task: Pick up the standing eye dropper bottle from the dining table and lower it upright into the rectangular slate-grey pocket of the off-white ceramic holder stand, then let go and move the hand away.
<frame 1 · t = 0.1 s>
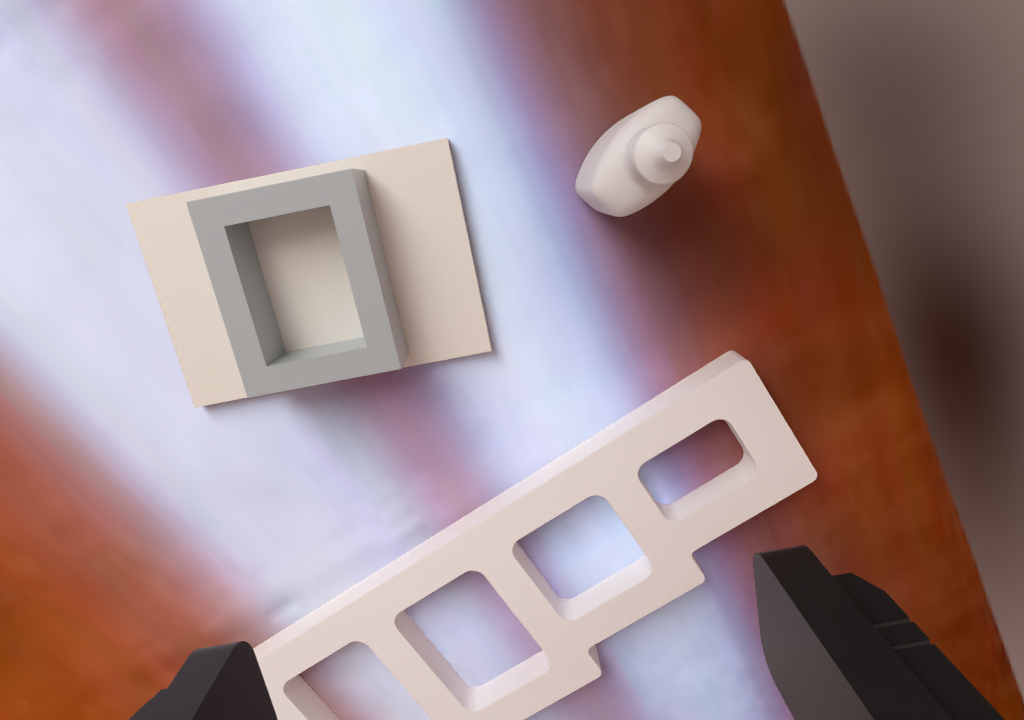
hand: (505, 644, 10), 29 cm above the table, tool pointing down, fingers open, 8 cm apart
holder: (507, 629, 45), on the table
eye dropper bottle: (618, 162, 36), on the table
holder stand: (318, 277, 38), on the table
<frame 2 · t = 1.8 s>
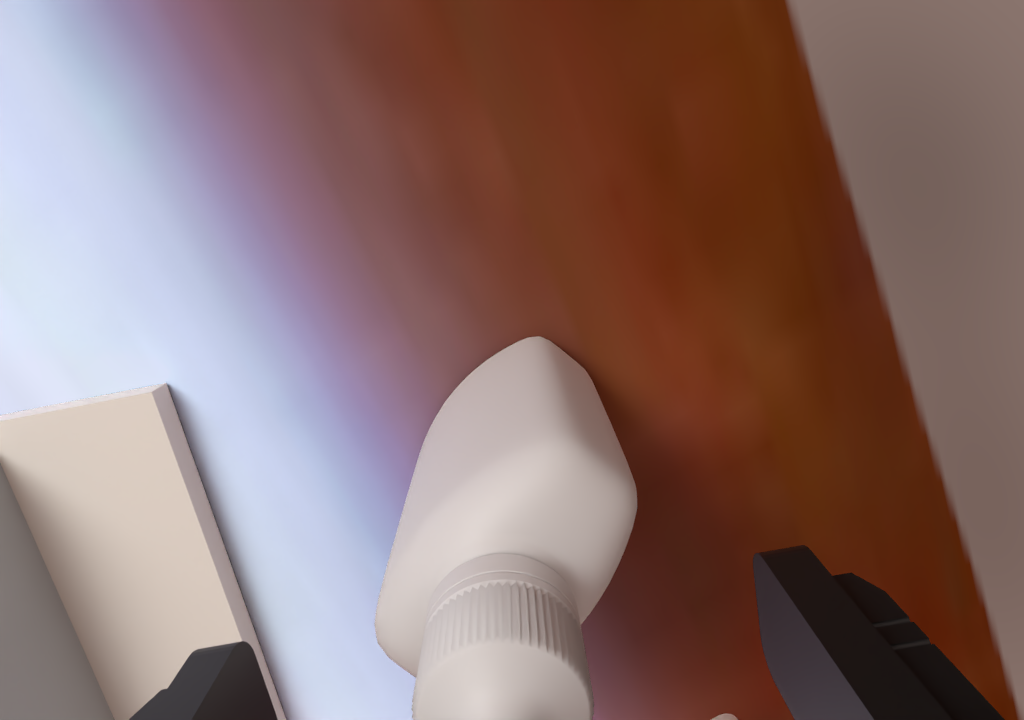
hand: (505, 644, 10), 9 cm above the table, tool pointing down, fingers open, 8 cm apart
eye dropper bottle: (502, 419, 19), on the table
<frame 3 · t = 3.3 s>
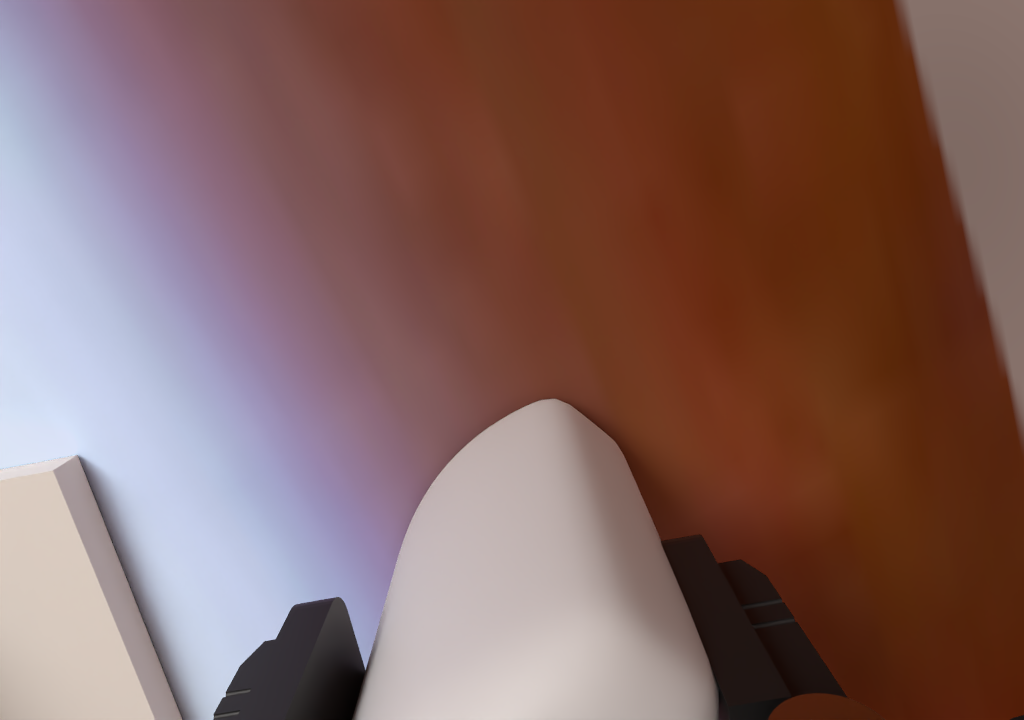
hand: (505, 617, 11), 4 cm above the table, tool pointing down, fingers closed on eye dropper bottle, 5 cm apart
eye dropper bottle: (507, 500, 15), on the table, touching gripper
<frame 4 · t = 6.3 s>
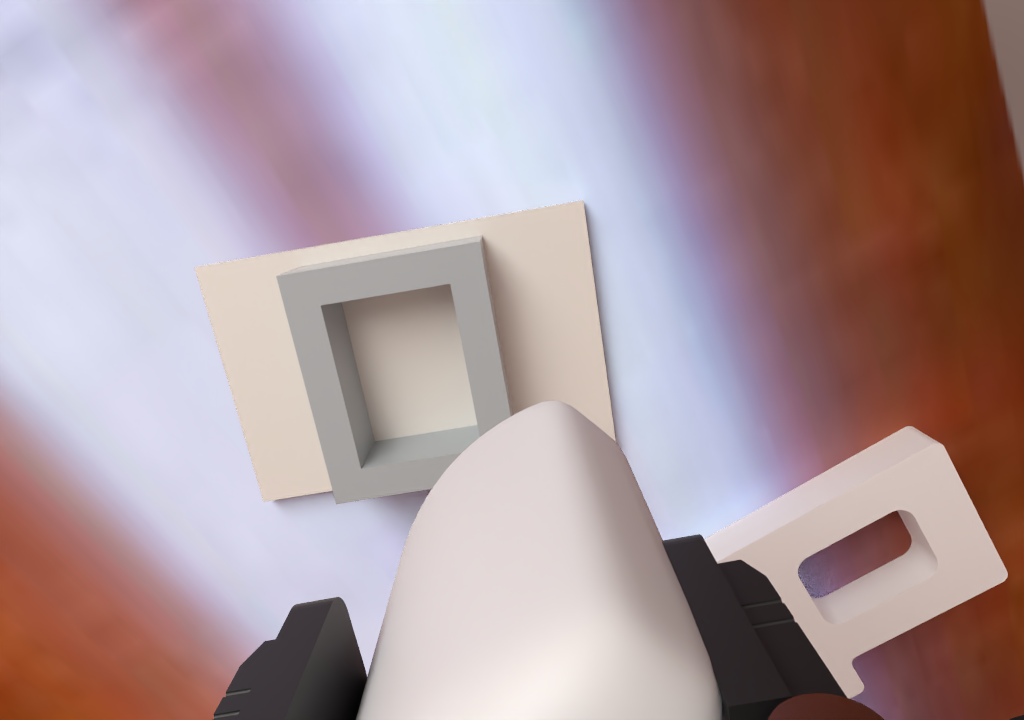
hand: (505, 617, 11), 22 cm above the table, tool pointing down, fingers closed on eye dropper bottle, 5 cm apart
eye dropper bottle: (509, 501, 15), point 17 cm above the table, touching gripper
holder stand: (416, 355, 32), on the table
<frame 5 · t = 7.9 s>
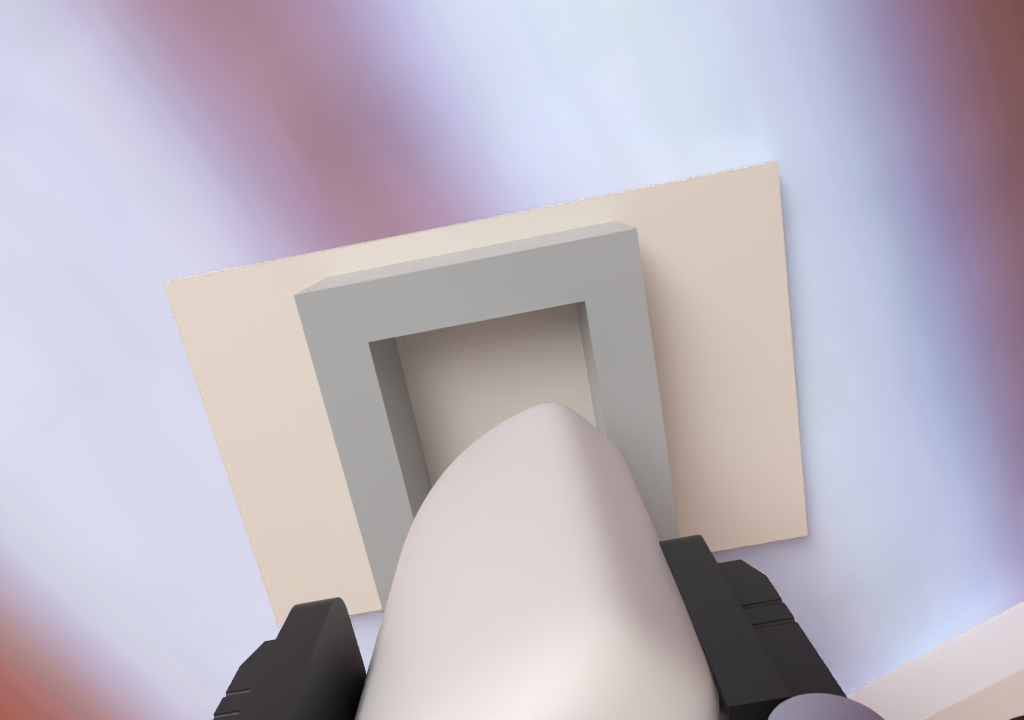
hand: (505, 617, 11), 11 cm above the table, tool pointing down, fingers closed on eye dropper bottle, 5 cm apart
eye dropper bottle: (508, 503, 15), point 6 cm above the table, touching gripper
holder stand: (504, 408, 21), on the table
when the fingers open (5 cm above the table, at t = 9.5 s): eye dropper bottle stays where it is, resting on holder stand.
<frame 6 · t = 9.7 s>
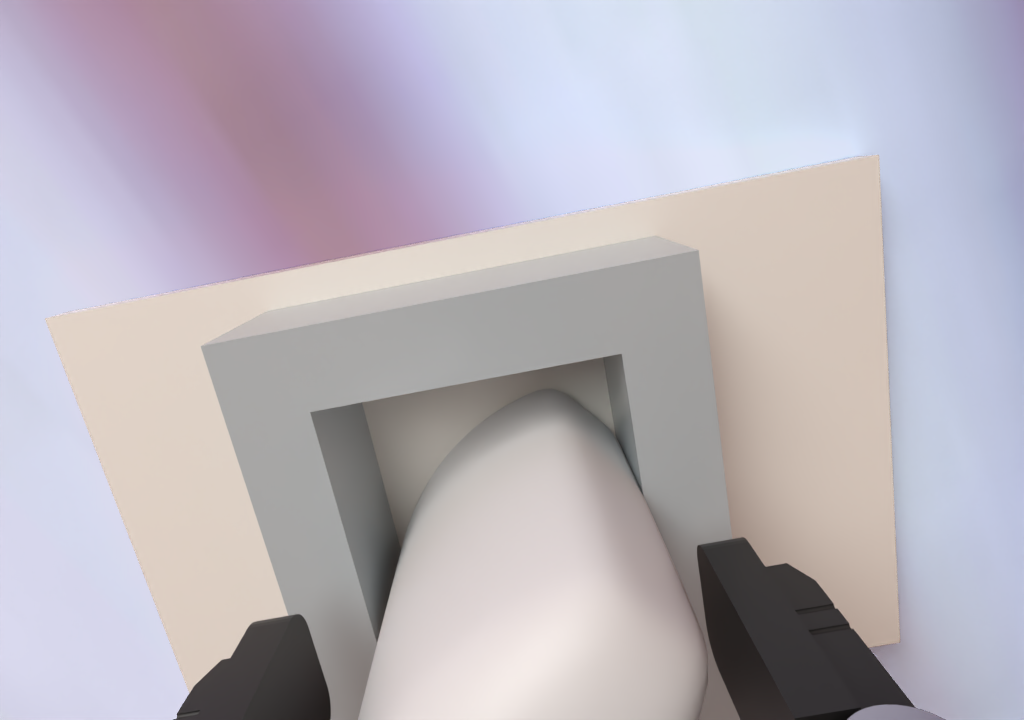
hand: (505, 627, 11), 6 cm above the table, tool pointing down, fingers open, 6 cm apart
eye dropper bottle: (507, 487, 15), point 1 cm above the table, touching holder stand
holder stand: (505, 478, 16), on the table
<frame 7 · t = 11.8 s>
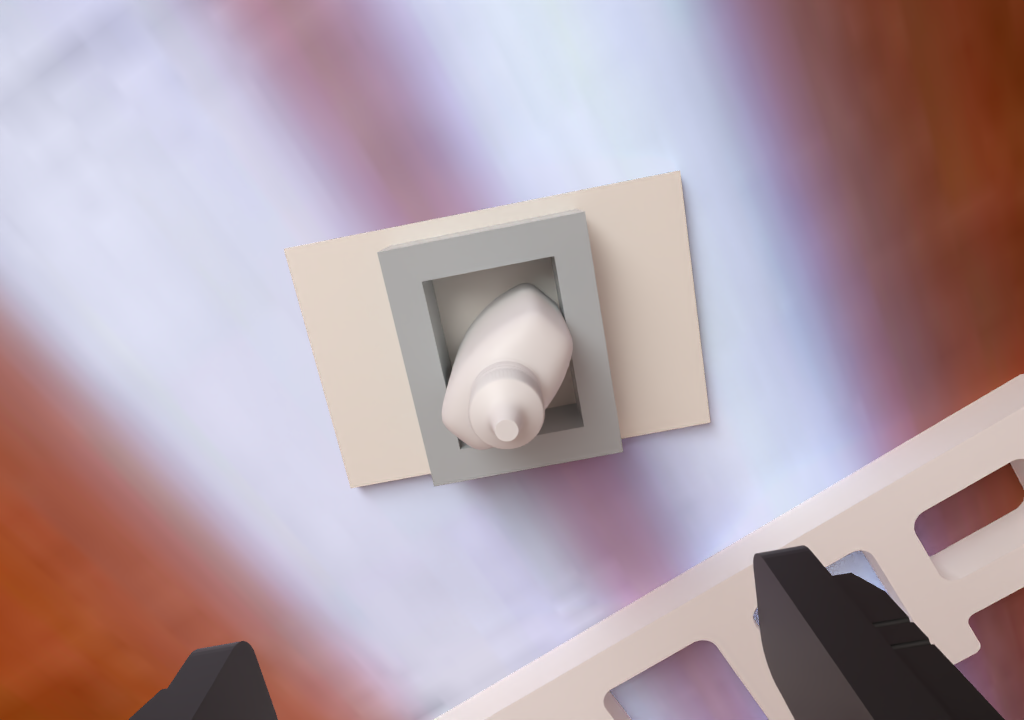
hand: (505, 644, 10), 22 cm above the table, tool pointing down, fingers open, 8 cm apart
holder: (717, 701, 38), on the table
eye dropper bottle: (506, 336, 31), point 1 cm above the table, touching holder stand
holder stand: (505, 335, 31), on the table
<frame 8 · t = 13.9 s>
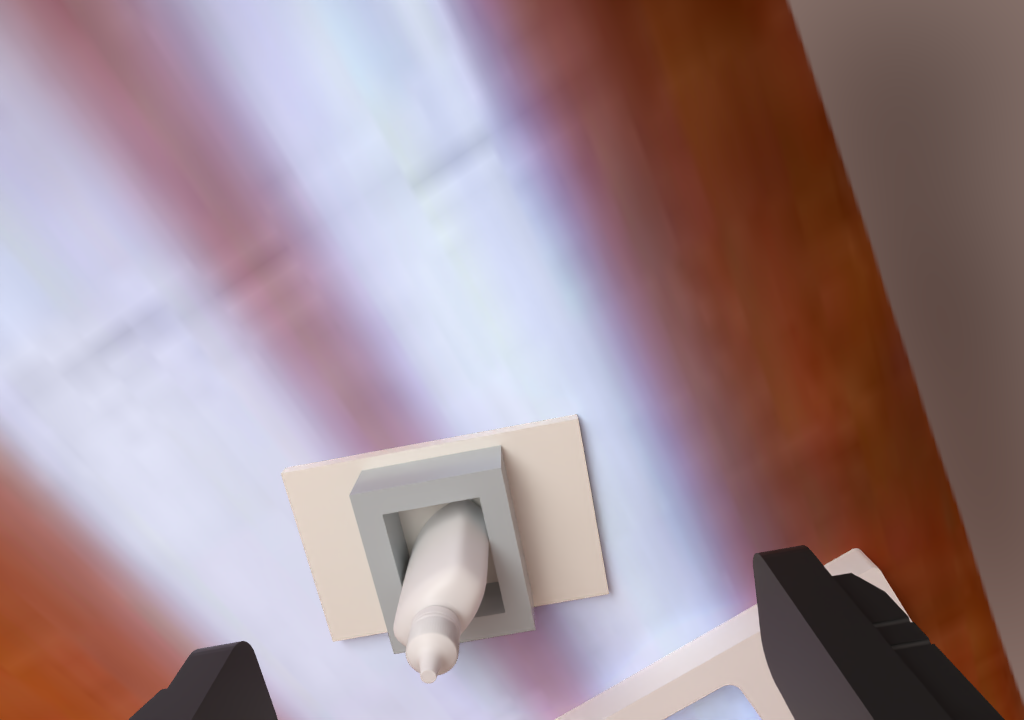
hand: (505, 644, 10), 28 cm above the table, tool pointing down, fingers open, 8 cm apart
eye dropper bottle: (450, 532, 40), point 1 cm above the table, touching holder stand
holder stand: (450, 528, 41), on the table
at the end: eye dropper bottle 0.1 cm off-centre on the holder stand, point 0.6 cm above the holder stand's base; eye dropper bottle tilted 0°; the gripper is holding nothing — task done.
